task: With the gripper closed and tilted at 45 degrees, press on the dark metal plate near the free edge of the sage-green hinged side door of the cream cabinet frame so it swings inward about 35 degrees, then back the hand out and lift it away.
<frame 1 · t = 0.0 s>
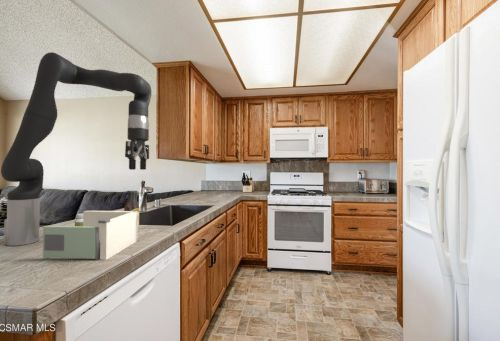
hand: (137, 169, 92), 29 cm above the table, tool pointing down, fingers open, 8 cm apart
cabinet frame: (93, 248, 86), on the table
sauce bottle: (131, 235, 104), on the table
door: (70, 242, 75), point 5 cm above the table, hinge at 0.0°
supplement bottle: (82, 236, 102), on the table
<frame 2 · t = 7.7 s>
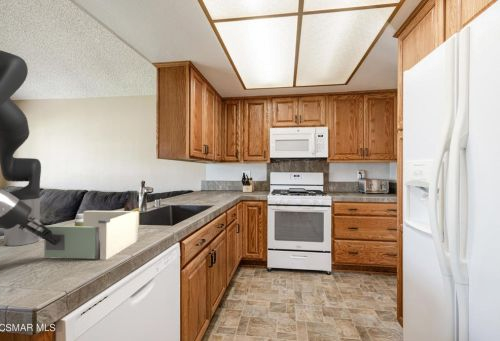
hand: (57, 242, 74), 6 cm above the table, tool tilted 45°, fingers closed
door: (71, 242, 76), point 5 cm above the table, hinge at 1.9°, touching gripper
everything else where it was.
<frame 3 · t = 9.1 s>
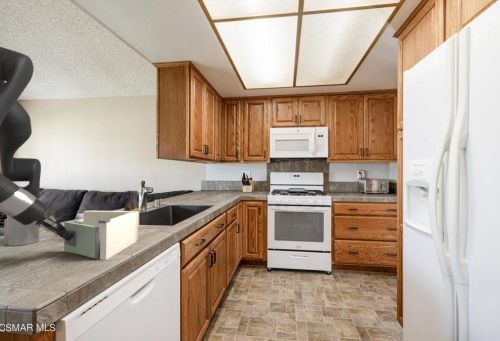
hand: (70, 238, 79), 6 cm above the table, tool tilted 45°, fingers closed
door: (80, 239, 79), point 5 cm above the table, hinge at 23.6°, touching gripper
everything else where it was.
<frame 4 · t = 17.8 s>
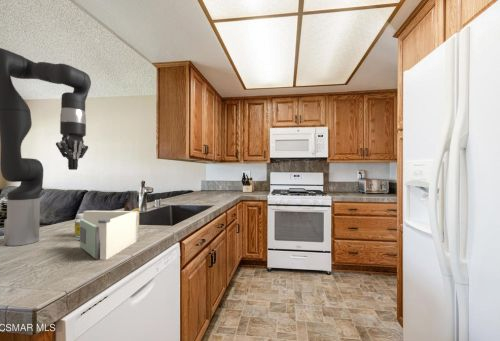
hand: (72, 169, 86), 29 cm above the table, tool pointing down, fingers closed
door: (88, 237, 81), point 6 cm above the table, hinge at 40.0°
everything else where it was.
at the end: door at +40° (first picture: +0°) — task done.
